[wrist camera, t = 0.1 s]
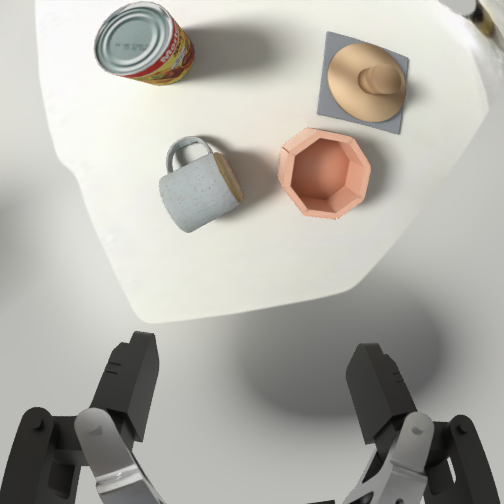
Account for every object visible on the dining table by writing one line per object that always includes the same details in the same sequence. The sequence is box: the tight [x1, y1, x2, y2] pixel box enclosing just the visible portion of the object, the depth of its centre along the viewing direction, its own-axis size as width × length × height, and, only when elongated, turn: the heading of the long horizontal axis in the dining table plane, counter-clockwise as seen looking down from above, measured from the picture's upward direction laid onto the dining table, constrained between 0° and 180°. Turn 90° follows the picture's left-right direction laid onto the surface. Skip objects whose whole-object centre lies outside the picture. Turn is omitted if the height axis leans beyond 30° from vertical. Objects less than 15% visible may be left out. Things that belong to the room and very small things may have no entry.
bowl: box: [277, 128, 371, 220], centre depth 33 cm, size 10×10×6 cm
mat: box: [317, 31, 408, 134], centre depth 30 cm, size 12×12×1 cm
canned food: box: [94, 1, 195, 86], centre depth 23 cm, size 8×8×12 cm
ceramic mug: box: [159, 136, 244, 233], centre depth 32 cm, size 11×8×8 cm
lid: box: [327, 43, 406, 122], centre depth 27 cm, size 11×11×6 cm
